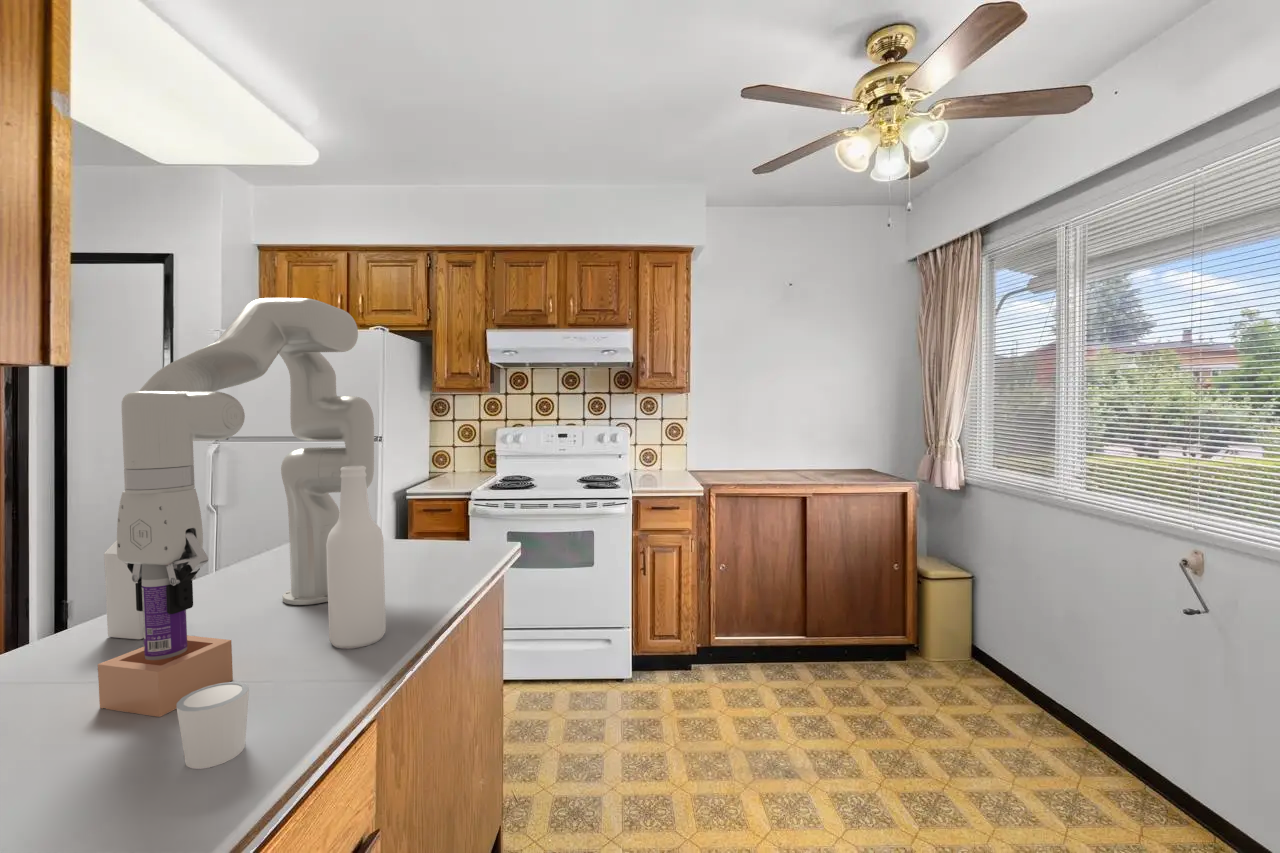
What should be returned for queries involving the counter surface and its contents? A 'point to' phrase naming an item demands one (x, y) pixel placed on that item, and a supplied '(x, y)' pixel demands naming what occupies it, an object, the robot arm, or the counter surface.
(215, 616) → the counter surface
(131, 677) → the tan open box
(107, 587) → the milk carton
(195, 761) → the white cup
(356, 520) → the alcohol
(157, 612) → the container
